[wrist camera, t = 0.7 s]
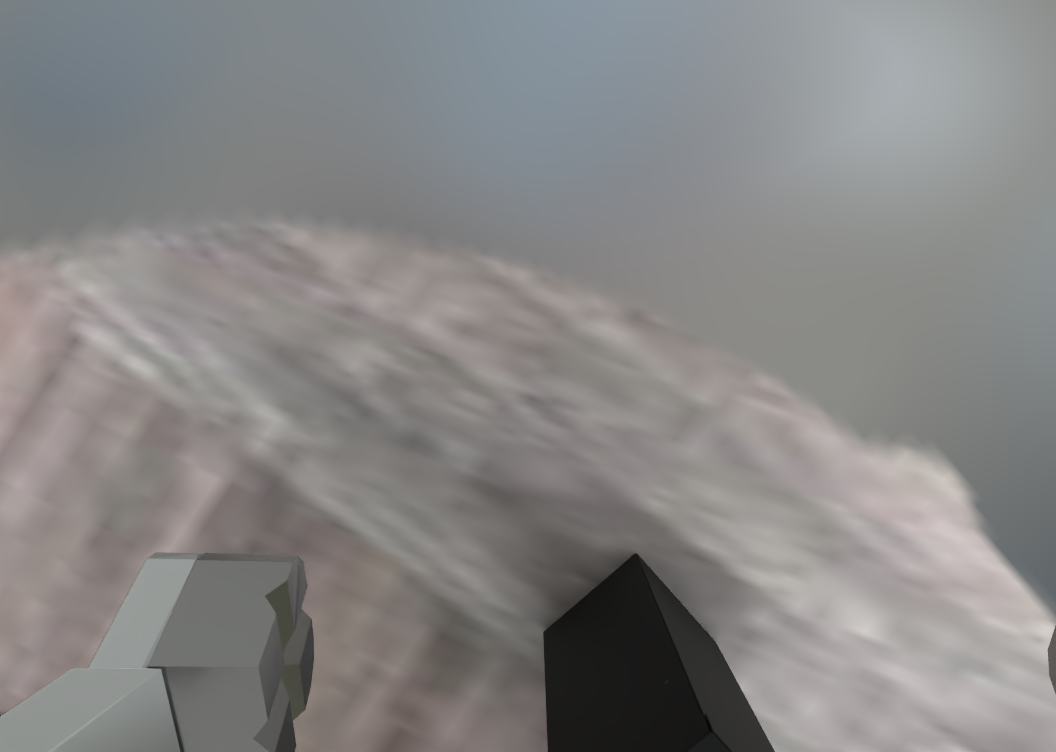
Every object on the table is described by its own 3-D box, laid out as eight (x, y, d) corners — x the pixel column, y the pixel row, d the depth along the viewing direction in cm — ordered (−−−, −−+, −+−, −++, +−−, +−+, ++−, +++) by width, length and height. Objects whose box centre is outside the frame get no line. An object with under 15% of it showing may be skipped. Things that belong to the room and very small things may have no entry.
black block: (540, 631, 59) (550, 925, 32) (636, 549, 59) (730, 774, 31) (623, 722, 60) (703, 1092, 32) (718, 642, 60) (884, 946, 32)
